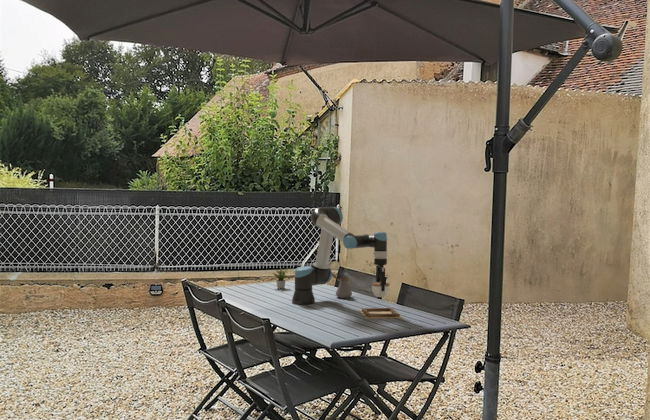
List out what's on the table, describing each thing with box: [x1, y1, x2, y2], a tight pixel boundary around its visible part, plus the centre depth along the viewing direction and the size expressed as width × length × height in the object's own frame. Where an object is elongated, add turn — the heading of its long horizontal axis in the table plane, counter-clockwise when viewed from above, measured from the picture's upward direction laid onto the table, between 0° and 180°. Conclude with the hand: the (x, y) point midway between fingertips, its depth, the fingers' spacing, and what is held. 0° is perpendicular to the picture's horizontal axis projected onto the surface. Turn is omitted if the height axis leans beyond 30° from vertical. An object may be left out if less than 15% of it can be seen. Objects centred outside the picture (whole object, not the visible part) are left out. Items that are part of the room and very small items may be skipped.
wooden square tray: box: [358, 307, 403, 320], centre depth 347 cm, size 22×22×2 cm
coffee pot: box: [332, 273, 353, 299], centre depth 405 cm, size 21×12×15 cm, turn 33°
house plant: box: [271, 267, 289, 289], centre depth 438 cm, size 14×14×16 cm
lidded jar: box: [371, 281, 391, 298], centre depth 347 cm, size 11×11×9 cm
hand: (380, 294), depth 347 cm, fingers closed on lidded jar, 11 cm apart
